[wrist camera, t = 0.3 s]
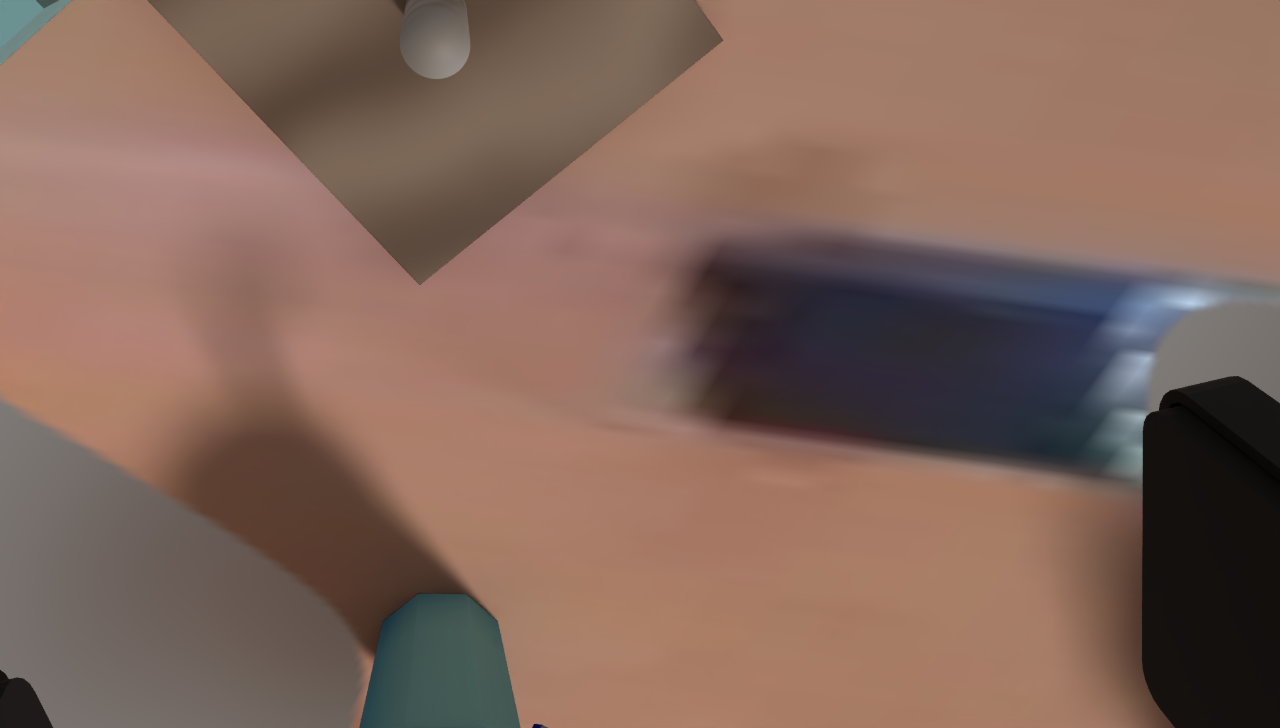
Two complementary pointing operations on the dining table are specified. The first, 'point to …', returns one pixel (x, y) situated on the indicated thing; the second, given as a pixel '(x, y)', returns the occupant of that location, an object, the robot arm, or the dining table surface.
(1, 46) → the collar
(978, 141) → the dining table surface
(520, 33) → the post base
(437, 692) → the cup
